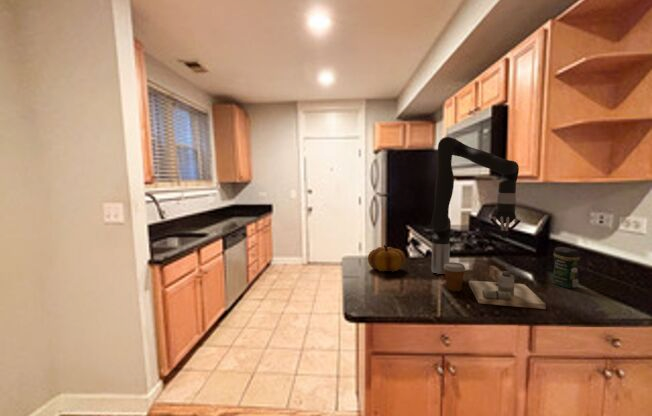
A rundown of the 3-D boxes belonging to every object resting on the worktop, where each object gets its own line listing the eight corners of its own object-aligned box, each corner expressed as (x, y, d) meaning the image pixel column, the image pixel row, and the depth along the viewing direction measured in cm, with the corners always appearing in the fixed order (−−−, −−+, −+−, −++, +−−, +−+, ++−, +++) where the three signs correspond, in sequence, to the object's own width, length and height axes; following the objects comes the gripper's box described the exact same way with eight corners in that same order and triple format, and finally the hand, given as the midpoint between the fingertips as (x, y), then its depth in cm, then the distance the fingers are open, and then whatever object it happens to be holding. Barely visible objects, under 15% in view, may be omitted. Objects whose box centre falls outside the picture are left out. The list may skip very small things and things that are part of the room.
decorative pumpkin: (384, 277, 160) (384, 250, 159) (361, 267, 179) (361, 243, 178) (412, 271, 169) (412, 246, 168) (387, 263, 189) (387, 240, 188)
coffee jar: (548, 282, 147) (550, 246, 145) (562, 281, 148) (564, 245, 146) (567, 289, 137) (569, 250, 136) (581, 288, 138) (583, 249, 137)
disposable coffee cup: (463, 286, 143) (464, 262, 142) (466, 293, 134) (466, 268, 133) (442, 285, 146) (443, 261, 145) (443, 291, 137) (444, 266, 137)
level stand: (478, 303, 124) (479, 291, 123) (468, 284, 147) (469, 274, 146) (545, 309, 117) (546, 296, 116) (524, 288, 140) (524, 277, 139)
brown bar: (516, 296, 124) (517, 274, 124) (501, 295, 125) (501, 273, 125) (498, 281, 143) (499, 262, 142) (485, 281, 144) (485, 262, 143)
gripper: (489, 202, 141) (487, 237, 143) (522, 203, 133) (519, 241, 135) (491, 201, 147) (490, 235, 149) (523, 202, 139) (521, 238, 140)
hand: (504, 238), depth 142 cm, fingers closed
